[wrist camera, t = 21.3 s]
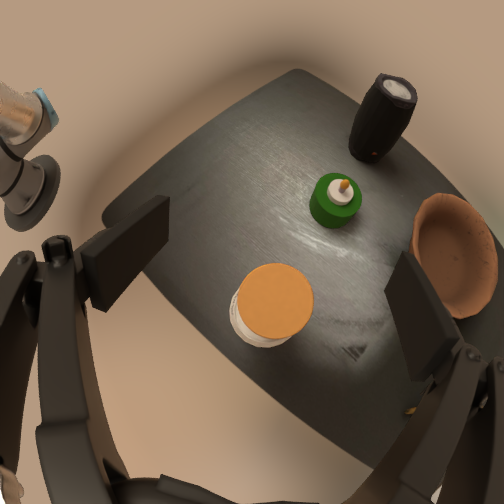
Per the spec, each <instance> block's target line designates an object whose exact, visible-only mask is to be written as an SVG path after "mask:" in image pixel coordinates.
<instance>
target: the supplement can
mask: <svg viewBox="0 0 504 504" xmlns="http://www.w3.org/2000/svg"><path fill="white" fill-rule="evenodd" d="M239 288H240V287H239ZM238 291H239V289H238V290H237V292H236V293H235V295H234V296H233V298H232V301H231V305H230V309H229V311H230V321H231V324H232V326H233V328H234V330H235V332H236V333H237V334H238V335H239V336H240V337H241V338H242V339H243V340H244V341H245V342H247V343H249V344H251V345H254V346H256V347H268V348H270V347H273V346H276V345H280V344H282V343H284V342H285V341H286V340H288V339H289V338H290V337H292V336H290V337H287V338H283V339H268V338H264V337H261V336H259V335H257V334H255V333H254V332H252V331H251V330H250V329H249V328H248V327H247V326H246V325H245V324H244V322H243V321H242V319H241V317H240V314H239V311H238V306H237V296H238Z"/></svg>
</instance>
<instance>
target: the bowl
mask: <svg viewBox="0 0 504 504" xmlns="http://www.w3.org/2000/svg"><path fill="white" fill-rule="evenodd" d="M409 253H412V254H414V256H415V257H416V259H417V260H418V262H419V264H420V265H421V267H422V268H423V270H424V272H425V273H426V275H427V277H428V278H429V280H430V282H431V284H432V285H433V287H434V289H435V291H436V292H437V294H438V296H439V298H440V300H441V301H442V303H443V304H444V305H445V306H446V308H447V309H448V310H449V311H450V313H451V315H452V317H455V318H458V319H462V318H465V317H468V316H471V315H474V314H477V313H478V312H479V311H480V310H481V309H482V308H483V307H484V306H485V305H486V304H487V303H488V302H489V301H490V300H491V297H492V295H493V292H494V289H495V286H496V284H497V281H498V258H497V253H496V249H495V245H494V241H493V237H492V235H491V233H490V231H489V229H488V227H487V225H486V223H485V221H484V219H483V218H482V216H481V215H480V214H479V213H478V212H477V211H476V210H475V209H474V208H473V207H472V206H471V205H470V204H469V203H468V202H466V201H464V200H462V199H460V198H458V197H456V196H454V195H452V194H442V193H436V194H435V195H433V196H431V197H430V198H428V199H426V200H424V201H423V203H422V204H421V206H420V208H419V210H418V212H417V214H416V216H415V217H414V223H413V233H412V238H411V240H410V246H409Z"/></svg>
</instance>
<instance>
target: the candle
mask: <svg viewBox="0 0 504 504" xmlns="http://www.w3.org/2000/svg"><path fill="white" fill-rule="evenodd" d="M361 202H362V195H361V191H360V189H359V187H358V186H357V184H356V183H355V182H354V181H353V180H352V179H351V178H349V177H348V176H346V175H343V174H339V173H330V174H326V175H324V176H323V177H321V178H320V179H319V181H318V182H317V184H316V187H315V189H314V192H313V194H312V196H311V199H310V204H309V207H310V212H311V214H312V216H313V218H314V219H315V220H316V221H317V222H318V223H319V224H321V225H322V226H325V227H327V228H340V227H342V226H344V225H346V224H347V223H348V221H349V220H350V219H351V218H352V217H353V215H354V214H355V213H356V212H357V211H358V209H359V208H360V206H361Z"/></svg>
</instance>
